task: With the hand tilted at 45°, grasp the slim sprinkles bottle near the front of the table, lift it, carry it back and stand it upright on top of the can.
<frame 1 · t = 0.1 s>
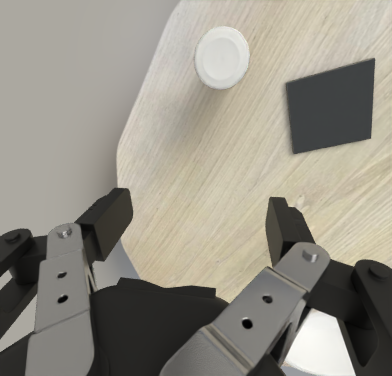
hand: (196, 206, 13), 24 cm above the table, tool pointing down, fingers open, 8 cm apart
sprinkles bottle: (226, 62, 30), on the table
slate coaster: (328, 110, 31), on the table
bowl: (320, 305, 48), on the table
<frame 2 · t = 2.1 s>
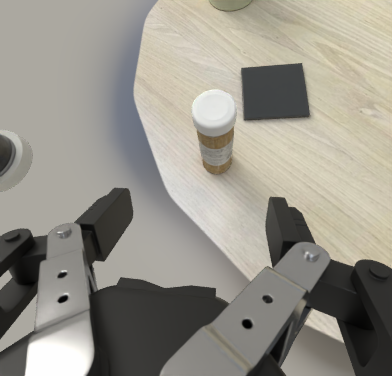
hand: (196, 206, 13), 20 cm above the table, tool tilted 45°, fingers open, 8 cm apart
sprinkles bottle: (217, 161, 35), on the table
slate coaster: (273, 92, 37), on the table
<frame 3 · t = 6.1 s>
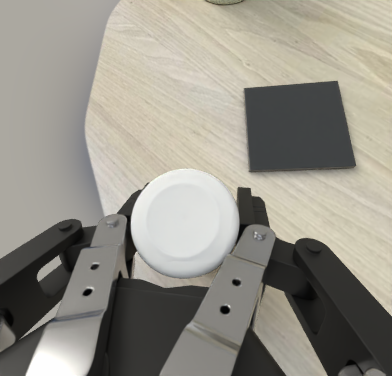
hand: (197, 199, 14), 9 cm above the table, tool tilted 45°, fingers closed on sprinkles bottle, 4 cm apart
sprinkles bottle: (206, 242, 22), on the table, touching gripper
slate coaster: (293, 126, 24), on the table
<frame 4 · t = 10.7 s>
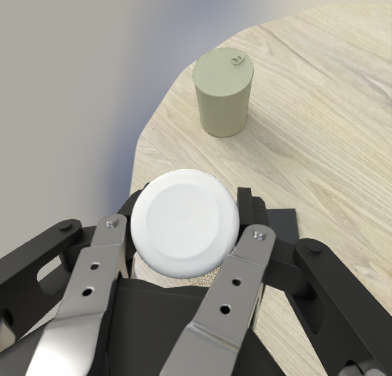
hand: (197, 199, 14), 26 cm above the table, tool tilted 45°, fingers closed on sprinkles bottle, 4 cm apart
sprinkles bottle: (206, 242, 22), point 16 cm above the table, touching gripper
slate coaster: (266, 240, 37), on the table
can: (223, 117, 45), on the table
when the fingers open (21 cm above the table, at t = 15.6 s): sprinkles bottle stays where it is, resting on can.
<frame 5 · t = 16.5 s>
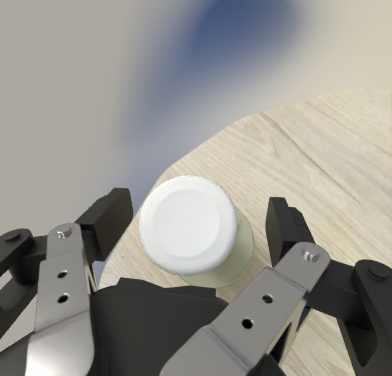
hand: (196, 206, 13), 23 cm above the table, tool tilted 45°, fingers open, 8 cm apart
sprinkles bottle: (207, 242, 23), point 12 cm above the table, touching can
can: (213, 246, 34), on the table, touching sprinkles bottle
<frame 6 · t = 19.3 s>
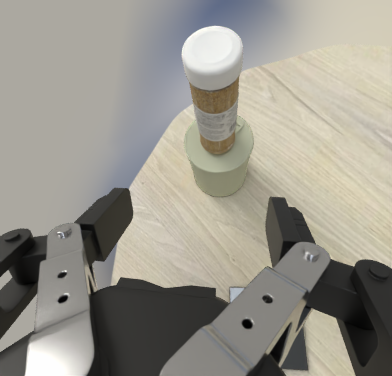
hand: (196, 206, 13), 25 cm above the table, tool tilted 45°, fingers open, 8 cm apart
sprinkles bottle: (217, 140, 29), point 12 cm above the table, touching can
slate coaster: (265, 325, 33), on the table
can: (219, 172, 41), on the table, touching sprinkles bottle
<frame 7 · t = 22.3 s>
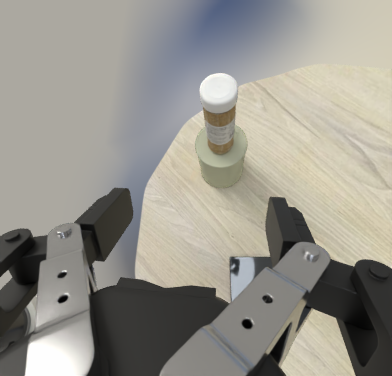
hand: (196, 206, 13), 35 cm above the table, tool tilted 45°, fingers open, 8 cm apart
sprinkles bottle: (220, 143, 39), point 12 cm above the table, touching can
slate coaster: (257, 284, 43), on the table
can: (221, 168, 51), on the table, touching sprinkles bottle
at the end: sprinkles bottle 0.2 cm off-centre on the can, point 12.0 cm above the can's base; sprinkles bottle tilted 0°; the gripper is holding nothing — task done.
